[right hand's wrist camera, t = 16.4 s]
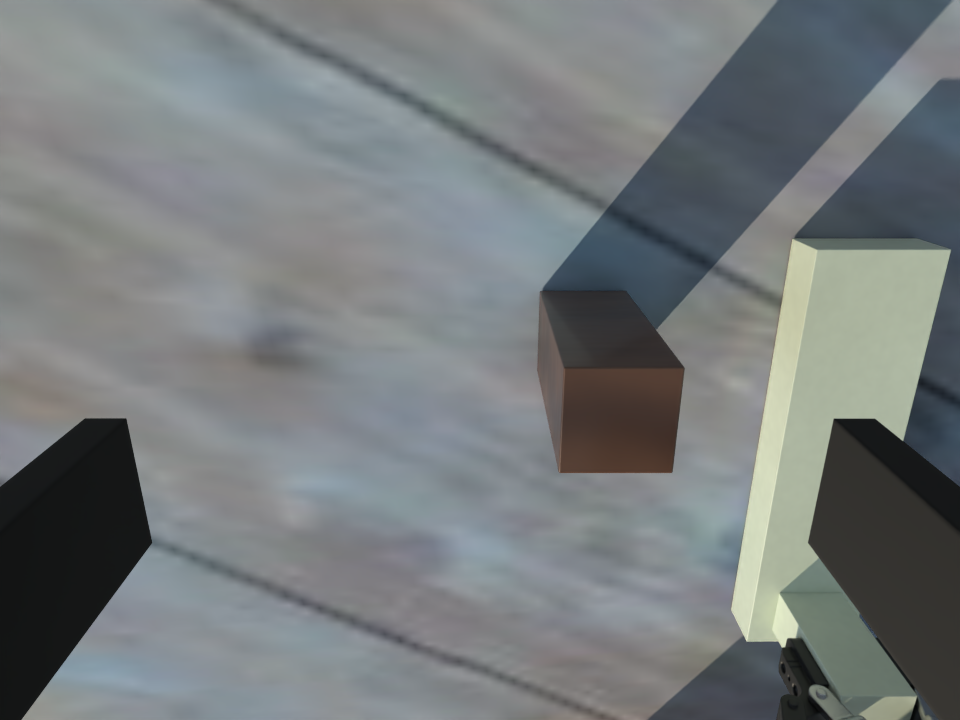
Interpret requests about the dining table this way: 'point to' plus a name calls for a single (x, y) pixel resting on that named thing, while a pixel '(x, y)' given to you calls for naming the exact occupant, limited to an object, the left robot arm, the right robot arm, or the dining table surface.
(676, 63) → the dining table surface
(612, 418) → the walnut block
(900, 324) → the pale green l-shaped block
